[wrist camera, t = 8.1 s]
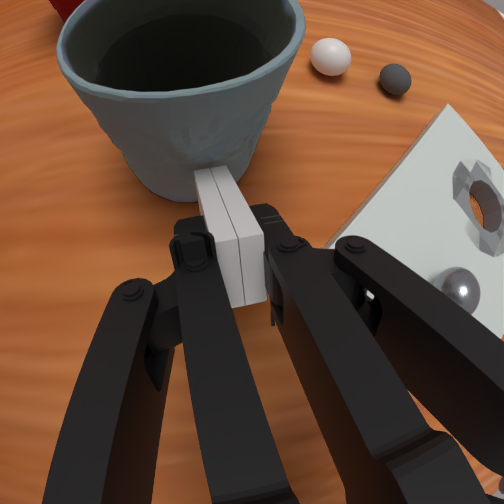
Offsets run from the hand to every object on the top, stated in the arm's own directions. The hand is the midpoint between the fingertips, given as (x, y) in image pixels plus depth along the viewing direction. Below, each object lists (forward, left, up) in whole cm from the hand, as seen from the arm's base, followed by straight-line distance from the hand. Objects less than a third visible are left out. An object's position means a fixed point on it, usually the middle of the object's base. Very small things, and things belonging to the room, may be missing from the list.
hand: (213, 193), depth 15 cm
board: (+13, -14, -5) cm, 20 cm away
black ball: (+21, -1, -4) cm, 21 cm away
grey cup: (+3, +5, -5) cm, 8 cm away
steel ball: (+7, -14, -1) cm, 16 cm away
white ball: (+17, +4, -3) cm, 17 cm away
